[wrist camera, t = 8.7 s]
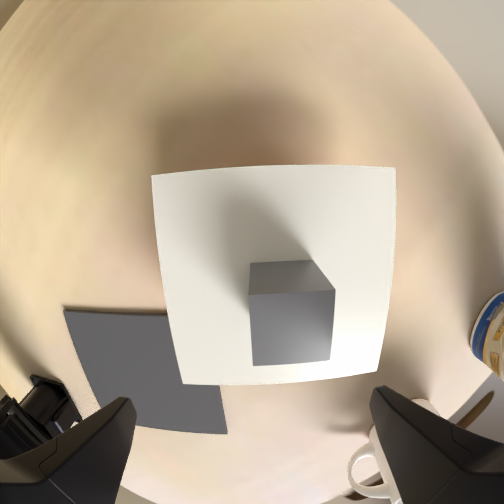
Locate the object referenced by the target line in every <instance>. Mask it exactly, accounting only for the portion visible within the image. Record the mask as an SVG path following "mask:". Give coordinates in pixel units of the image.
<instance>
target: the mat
mask: <svg viewBox="0 0 504 504" xmlns="http://www.w3.org/2000/svg"><path fill="white" fill-rule="evenodd" d="M63 313H64V316H65V320H66V323H67V326H68V329H69V332H70V335H71V338H72V341H73V344H74V347H75V349H76V352H77V355H78V357H79V360H80V362H81V365H82V367H83V370H84V372H85V375H86V377H87V379H88V381H89V384H90V386H91V388H92V390H93V392H94V395H95V397H96V399H97V401H98V403H99V405H100V407H101V408H103V407H104V406H106V405H107V404H109V403H111V402H112V401H114V400H115V399H117V398H118V397H120V396H123V397H129V398H130V399H131V400H132V403H133V405H134V407H135V410H136V412H137V420H136V425H137V426H143V427H149V428H156V429H163V430H171V431H181V432H192V433H207V434H227V432H228V431H227V426H226V421H225V415H224V410H223V404H222V398H221V392H220V386H219V385H195V384H183V382H182V378H181V374H180V370H179V366H178V361H177V357H176V353H175V348H174V343H173V339H172V334H171V329H170V324H169V318H168V314H135V313H110V312H92V311H77V310H64V311H63Z"/></svg>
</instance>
